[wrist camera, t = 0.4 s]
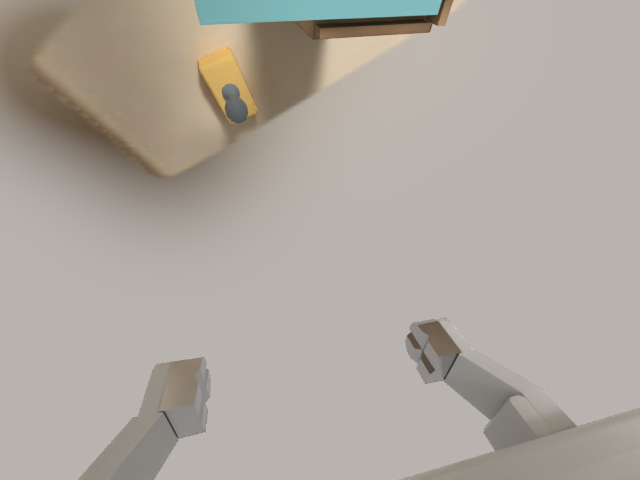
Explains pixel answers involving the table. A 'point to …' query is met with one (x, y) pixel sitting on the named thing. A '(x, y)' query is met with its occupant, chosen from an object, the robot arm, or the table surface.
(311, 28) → the walnut stand
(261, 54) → the table surface
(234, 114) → the rubber stamp
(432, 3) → the teal rectangular bar
